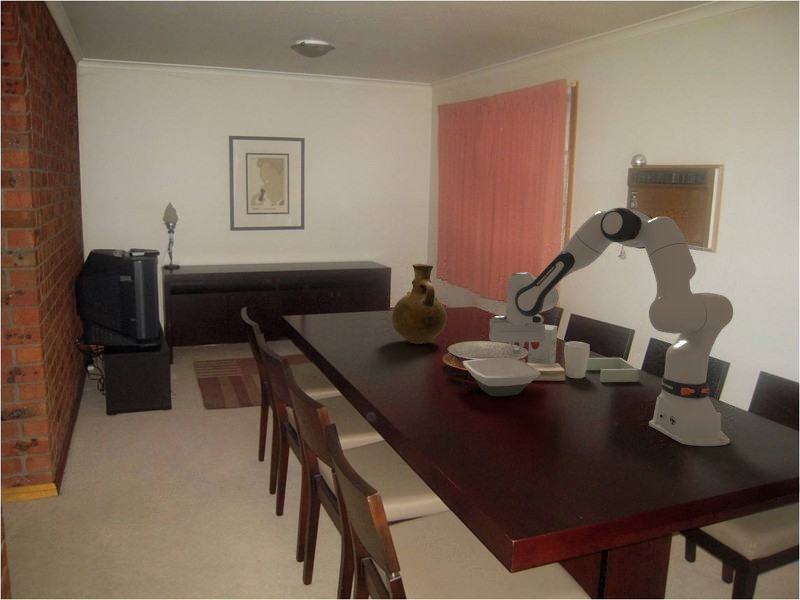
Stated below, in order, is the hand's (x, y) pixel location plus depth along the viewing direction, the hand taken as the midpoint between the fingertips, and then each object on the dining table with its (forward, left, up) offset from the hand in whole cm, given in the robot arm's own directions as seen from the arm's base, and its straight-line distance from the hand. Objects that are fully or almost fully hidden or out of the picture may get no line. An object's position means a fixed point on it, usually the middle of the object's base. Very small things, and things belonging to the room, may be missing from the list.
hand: (516, 353), depth 229 cm
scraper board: (0, -11, -9) cm, 14 cm away
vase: (+51, +30, -9) cm, 59 cm away
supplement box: (+17, -15, -9) cm, 24 cm away
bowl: (-17, +10, -9) cm, 21 cm away
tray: (0, -36, -9) cm, 37 cm away
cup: (0, -23, -9) cm, 24 cm away
